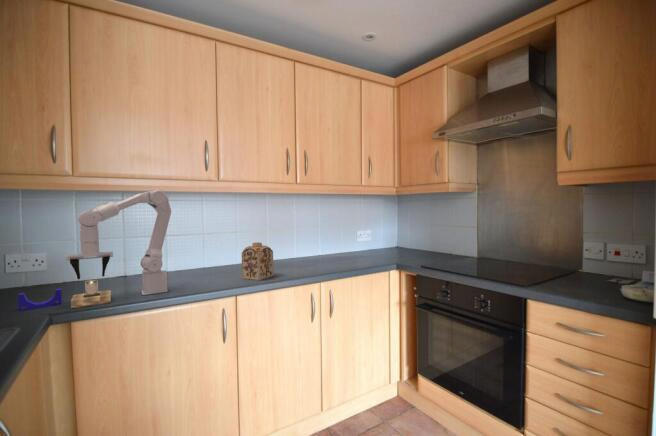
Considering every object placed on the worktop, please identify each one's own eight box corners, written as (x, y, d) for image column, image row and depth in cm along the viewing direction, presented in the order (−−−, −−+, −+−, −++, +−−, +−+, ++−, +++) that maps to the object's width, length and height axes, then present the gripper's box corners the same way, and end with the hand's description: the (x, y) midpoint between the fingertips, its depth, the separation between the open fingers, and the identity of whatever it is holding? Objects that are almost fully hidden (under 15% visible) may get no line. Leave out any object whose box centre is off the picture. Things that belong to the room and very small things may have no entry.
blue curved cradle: (62, 302, 129) (61, 287, 129) (61, 305, 125) (61, 289, 125) (20, 308, 122) (19, 292, 121) (18, 311, 118) (18, 295, 118)
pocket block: (110, 297, 134) (110, 290, 134) (110, 303, 126) (110, 295, 126) (73, 302, 128) (73, 294, 128) (71, 308, 119) (70, 300, 119)
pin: (99, 299, 130) (98, 279, 129) (98, 301, 126) (97, 281, 126) (86, 301, 128) (85, 280, 127) (85, 303, 124) (84, 282, 124)
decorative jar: (241, 278, 166) (240, 243, 165) (256, 274, 176) (255, 241, 175) (260, 281, 160) (259, 244, 160) (274, 276, 170) (273, 241, 170)
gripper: (112, 240, 133) (113, 273, 134) (67, 242, 126) (68, 278, 126) (112, 241, 128) (113, 276, 128) (64, 244, 120) (66, 281, 120)
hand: (91, 277), depth 127 cm, fingers open, 7 cm apart
